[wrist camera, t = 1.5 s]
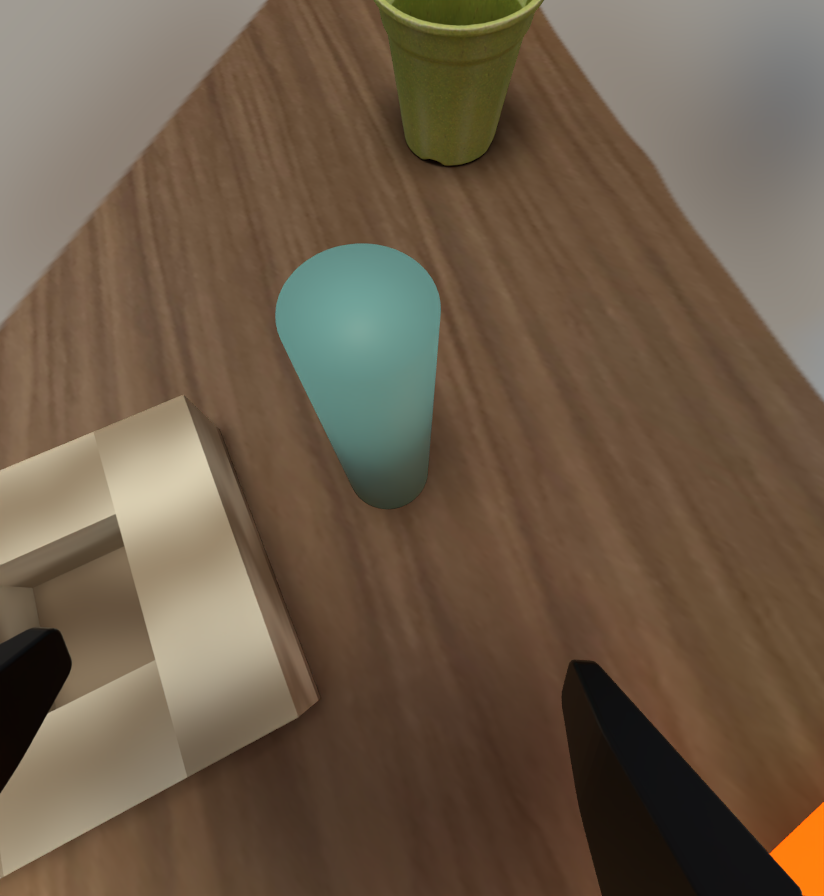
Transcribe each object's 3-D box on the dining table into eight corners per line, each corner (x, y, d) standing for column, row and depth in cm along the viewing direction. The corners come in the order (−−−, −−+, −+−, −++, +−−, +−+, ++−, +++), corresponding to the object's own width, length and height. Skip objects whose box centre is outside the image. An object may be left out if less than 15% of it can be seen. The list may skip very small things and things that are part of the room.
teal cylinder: (441, 487, 23) (470, 339, 11) (368, 522, 22) (312, 408, 10) (406, 421, 24) (396, 222, 12) (336, 453, 24) (252, 278, 11)
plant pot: (416, 205, 30) (416, 48, 21) (358, 115, 33) (339, -53, 24) (541, 159, 31) (586, -5, 23) (475, 76, 34) (494, -95, 26)
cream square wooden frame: (320, 698, 20) (298, 716, 16) (-16, 879, 18) (-132, 949, 14) (219, 429, 24) (183, 394, 20) (-60, 549, 22) (-157, 535, 18)
